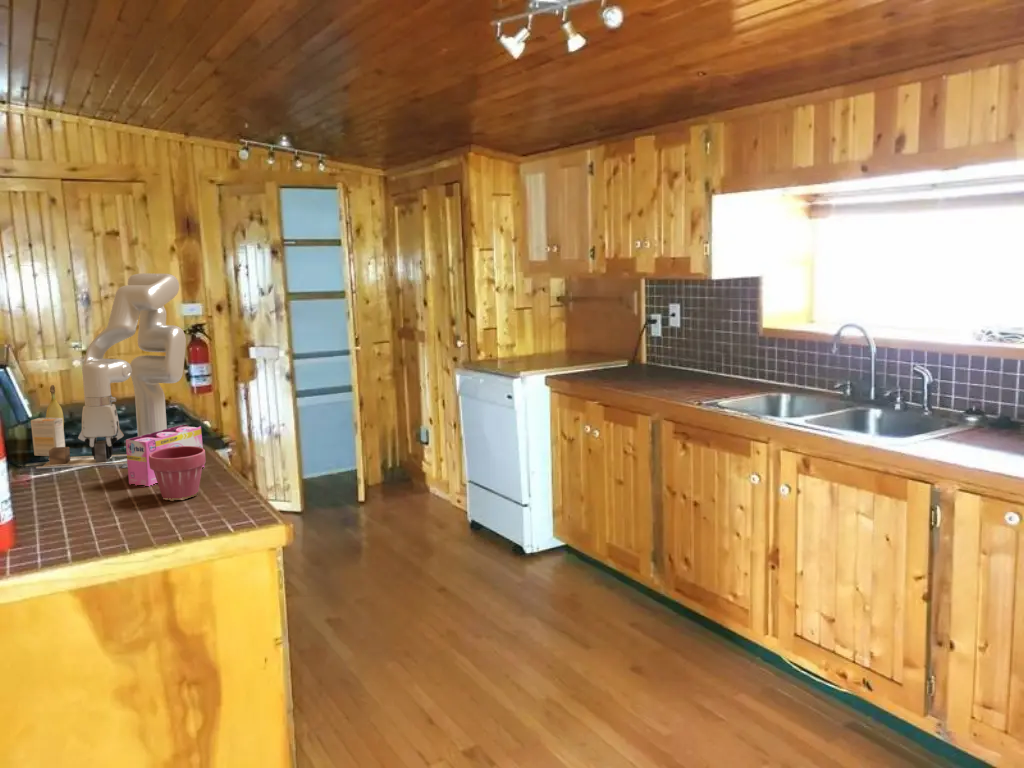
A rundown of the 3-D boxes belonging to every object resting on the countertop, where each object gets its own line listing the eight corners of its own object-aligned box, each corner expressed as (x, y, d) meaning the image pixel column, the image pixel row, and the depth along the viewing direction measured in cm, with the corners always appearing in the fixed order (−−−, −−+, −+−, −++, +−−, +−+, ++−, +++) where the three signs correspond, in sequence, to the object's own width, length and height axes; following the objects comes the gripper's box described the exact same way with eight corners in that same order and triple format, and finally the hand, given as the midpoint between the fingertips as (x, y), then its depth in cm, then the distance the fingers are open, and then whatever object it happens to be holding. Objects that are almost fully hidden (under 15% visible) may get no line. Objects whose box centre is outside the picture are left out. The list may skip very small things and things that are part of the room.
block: (70, 460, 253) (69, 446, 252) (65, 464, 249) (64, 450, 248) (54, 461, 252) (53, 447, 251) (49, 464, 248) (48, 450, 247)
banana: (58, 451, 270) (53, 393, 266) (39, 453, 267) (33, 394, 264) (67, 437, 290) (62, 384, 287) (48, 439, 288) (43, 384, 285)
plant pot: (147, 506, 211) (144, 459, 209) (156, 491, 224) (153, 447, 222) (204, 502, 214) (202, 456, 212) (209, 487, 228) (207, 444, 226)
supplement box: (66, 456, 263) (63, 417, 261) (57, 459, 259) (53, 420, 257) (43, 455, 264) (40, 417, 262) (33, 459, 260) (30, 419, 258)
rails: (149, 457, 262) (149, 453, 261) (140, 466, 250) (140, 462, 250) (49, 462, 255) (49, 457, 255) (36, 472, 244) (35, 467, 243)
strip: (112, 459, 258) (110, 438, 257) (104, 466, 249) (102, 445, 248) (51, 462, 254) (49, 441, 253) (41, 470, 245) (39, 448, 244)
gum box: (188, 465, 253) (186, 423, 251) (208, 467, 250) (205, 425, 248) (127, 484, 231) (124, 439, 229) (148, 487, 228) (145, 441, 226)
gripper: (129, 398, 255) (133, 454, 258) (73, 400, 252) (78, 456, 255) (123, 402, 248) (127, 459, 251) (66, 404, 245) (71, 462, 247)
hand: (102, 457), depth 253 cm, fingers closed on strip, 3 cm apart
